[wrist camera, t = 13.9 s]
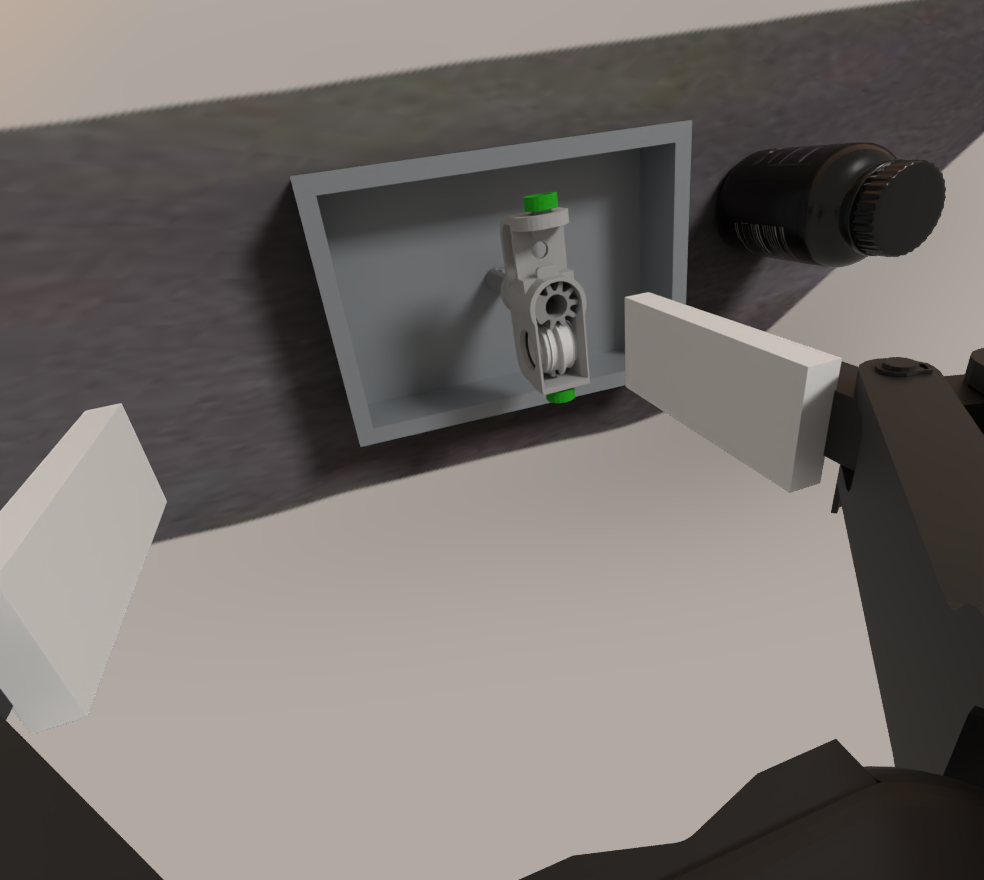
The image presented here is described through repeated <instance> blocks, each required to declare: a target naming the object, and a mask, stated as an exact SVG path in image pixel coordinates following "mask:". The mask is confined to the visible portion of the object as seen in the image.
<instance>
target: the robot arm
mask: <svg viewBox="0 0 984 880" xmlns="http://www.w3.org/2000/svg"><path fill="white" fill-rule="evenodd" d="M625 379H626V387H627V388H628V389H630V390H632V391H633V392H635V393H636V394H638V395H639V396H641V397H642V398H644V399H645V400H647V401H649V402H650V403H652V404H653V405H655V406H656V407H658V408H659V409H661V410H662V411H664V412H666V413H667V414H669V415H670V416H672V417H673V418H675V419H676V420H678V421H680V422H681V423H683V424H684V425H686V426H687V427H689V428H690V429H692V430H694V431H695V432H697V433H698V434H700V435H701V436H703V437H704V438H706V439H707V440H709V441H710V442H712V443H714V444H715V445H717V446H718V447H720V448H721V449H723V450H724V451H726V452H727V453H729V454H731V455H732V456H734V457H735V458H737V459H738V460H740V461H741V462H743V463H745V464H746V465H748V466H749V467H751V468H752V469H754V470H755V471H757V472H758V473H760V474H762V475H763V476H765V477H766V478H768V479H769V480H771V481H772V482H774V483H775V484H777V485H779V486H780V487H782V488H783V489H785V490H786V491H788V492H794V491H797V490H800V489H803V488H806V487H809V486H812V485H815V484H818V483H820V480H821V475H822V469H823V464H824V458H825V456H826V457H828V458H830V459H831V460H833V461H835V462H837V463H839V464H840V468H839V473H838V479H837V484H836V489H835V495H834V499H833V505H832V510H831V513H837V512H838V509H839V507H841V506H842V509H843V514H844V519H845V524H846V529H847V533H848V538H849V543H850V548H851V553H852V558H853V563H854V567H855V572H856V577H857V582H858V587H859V592H860V597H861V601H862V606H863V611H864V616H865V621H866V626H867V630H868V635H869V640H870V645H871V650H872V655H873V659H874V664H875V669H876V674H877V679H878V684H879V689H880V693H881V699H882V703H883V708H884V713H885V718H886V723H887V728H888V732H889V737H890V742H891V747H892V752H893V757H894V764H895V767H872V766H870V767H863V766H862V765H861V764H860V763H859V762H858V761H857V760H856V759H855V758H854V757H853V756H852V755H851V754H850V753H849V752H848V751H847V750H846V749H845V748H844V747H843V746H842V745H841V744H840V743H839V742H838V741H837V739H834V740H832V741H830V742H828V743H825V744H823V745H821V746H819V747H816V748H814V749H812V750H810V751H808V752H805V753H803V754H801V755H798V756H796V757H794V758H792V759H789V760H787V761H785V762H783V763H780V764H778V765H776V766H774V767H771V768H769V769H767V770H765V771H762V772H760V773H758V774H757V775H755V777H753V778H752V779H751V780H750V781H749V782H748V783H747V784H746V785H745V786H744V787H743V788H742V789H741V790H740V791H739V792H738V793H737V794H735V796H733V797H732V798H731V799H730V800H729V801H728V802H727V803H726V804H725V805H724V806H723V807H722V808H721V809H720V810H719V811H718V812H717V813H716V814H714V816H713V817H711V818H710V819H709V820H708V821H707V822H706V823H705V824H704V825H703V826H702V827H701V828H700V829H699V830H698V831H697V832H696V833H694V834H693V835H692V836H691V837H690V838H688V839H686V840H684V841H681V842H678V843H672V844H664V845H655V846H647V847H639V848H631V849H623V850H615V851H607V852H599V853H591V854H583V855H575V856H571V857H569V858H567V859H565V860H562V861H560V862H558V863H556V864H554V865H551V866H549V867H546V868H544V869H542V870H540V871H538V872H535V873H533V874H531V875H529V876H526V877H524V878H522V879H519V880H984V348H981V349H978V350H975V351H973V352H972V354H971V356H970V359H969V363H968V366H967V370H966V373H965V374H964V375H953V376H943V375H942V373H941V372H940V371H939V370H938V369H936V368H935V367H934V366H931V365H930V364H928V363H923V362H918V361H914V360H912V359H908V358H900V357H892V358H883V359H874V360H869V361H866V362H864V363H862V364H860V365H859V367H856V366H854V365H850V364H848V363H845V362H842V358H840V357H837V356H834V355H831V354H828V353H825V352H822V351H819V350H816V349H814V348H810V347H808V346H805V345H802V344H799V343H796V342H793V341H790V340H787V339H784V338H781V337H778V336H775V335H772V334H770V333H767V332H764V331H761V330H758V329H755V328H752V327H749V326H746V325H743V324H740V323H737V322H735V321H732V320H729V319H726V318H723V317H720V316H717V315H714V314H711V313H708V312H705V311H702V310H699V309H696V308H694V307H691V306H688V305H685V304H682V303H679V302H676V301H673V300H670V299H667V298H664V297H661V296H658V295H655V294H653V293H650V292H646V293H642V294H637V295H632V296H628V297H625ZM166 502H167V501H166V498H165V496H164V494H163V492H162V490H161V488H160V485H159V483H158V481H157V479H156V477H155V475H154V472H153V470H152V468H151V466H150V464H149V462H148V460H147V457H146V455H145V453H144V451H143V449H142V447H141V444H140V442H139V440H138V438H137V436H136V434H135V431H134V429H133V427H132V425H131V423H130V421H129V418H128V416H127V414H126V412H125V410H124V408H123V406H122V403H120V404H115V405H111V406H106V407H101V408H96V409H92V410H87V411H85V412H84V413H83V414H82V415H81V416H80V418H79V419H78V420H77V421H76V422H75V424H74V425H73V426H72V427H71V428H70V429H69V431H68V432H67V433H66V434H65V435H64V437H63V438H62V439H61V440H60V441H59V442H58V444H57V445H56V446H55V447H54V448H53V450H52V451H51V452H50V453H49V454H48V455H47V457H46V458H45V459H44V460H43V461H42V463H41V464H40V465H39V466H38V467H37V468H36V470H35V471H34V472H33V473H32V474H31V476H30V477H29V478H28V479H27V480H26V481H25V483H24V484H23V485H22V486H21V487H20V489H19V490H18V491H17V492H16V493H15V494H14V496H13V497H12V498H11V499H10V500H9V502H8V503H7V504H6V505H5V506H4V507H3V509H2V510H1V511H0V880H163V879H162V878H161V877H160V876H159V875H158V874H157V873H156V872H155V871H154V870H153V869H152V868H151V867H150V866H149V865H148V864H147V863H146V861H145V860H144V859H143V858H141V856H139V854H138V853H137V852H136V851H135V850H134V849H133V848H132V847H131V846H130V845H129V844H127V842H126V841H125V840H124V839H123V838H122V837H121V836H120V835H119V834H118V833H117V832H116V831H115V830H114V829H113V828H112V827H111V826H110V825H109V824H108V823H107V822H106V821H104V819H103V818H102V817H101V816H100V815H99V814H98V813H97V812H96V811H95V810H94V809H93V808H92V807H91V806H90V805H89V804H88V803H87V802H86V801H85V800H84V799H83V798H82V797H81V796H80V795H79V794H78V793H77V792H76V791H75V790H74V789H73V788H72V787H71V786H70V785H69V784H68V783H67V782H66V781H65V780H64V779H63V778H62V777H61V776H60V775H59V774H58V773H57V772H56V771H55V770H54V769H53V768H52V767H51V766H50V765H49V764H48V763H47V762H46V761H45V760H44V759H43V758H42V757H41V756H40V755H39V754H38V753H37V752H36V751H35V749H34V748H32V746H31V745H30V744H29V743H28V742H27V741H26V740H25V739H24V738H23V737H22V736H20V734H19V733H18V732H16V730H15V729H13V728H12V727H11V725H10V724H9V723H8V722H7V721H6V719H7V717H8V715H9V713H10V711H11V709H12V710H13V711H14V712H15V714H16V715H17V716H18V717H19V719H20V720H21V721H22V723H23V724H24V725H25V727H26V728H27V729H28V730H29V732H30V733H31V734H35V733H39V732H42V731H45V730H48V729H51V728H54V727H58V726H61V725H64V724H67V723H70V722H73V721H76V720H79V719H83V718H86V717H87V716H88V714H89V711H90V708H91V706H92V703H93V700H94V697H95V695H96V692H97V689H98V687H99V684H100V681H101V678H102V676H103V673H104V670H105V668H106V665H107V662H108V660H109V657H110V654H111V651H112V649H113V646H114V643H115V640H116V638H117V635H118V632H119V630H120V627H121V624H122V622H123V619H124V616H125V614H126V611H127V608H128V605H129V603H130V600H131V597H132V595H133V592H134V589H135V586H136V584H137V581H138V578H139V576H140V573H141V570H142V567H143V565H144V562H145V559H146V557H147V554H148V551H149V548H150V546H151V543H152V540H153V538H154V535H155V532H156V530H157V527H158V524H159V521H160V519H161V516H162V513H163V511H164V508H165V505H166Z"/></svg>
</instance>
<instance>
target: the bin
mask: <svg viewBox="0 0 984 880" xmlns="http://www.w3.org/2000/svg"><path fill="white" fill-rule="evenodd" d="M691 138H692V120H688V121H681V122H674V123H666V124H659V125H651V126H644V127H637V128H630V129H623V130H616V131H609V132H601V133H594V134H587V135H580V136H573V137H566V138H559V139H551V140H544V141H537V142H530V143H523V144H516V145H509V146H502V147H494V148H487V149H480V150H473V151H466V152H459V153H452V154H445V155H437V156H430V157H423V158H416V159H409V160H402V161H395V162H387V163H380V164H373V165H366V166H359V167H352V168H345V169H338V170H330V171H323V172H316V173H309V174H302V175H295V176H290V179H291V183H292V187H293V191H294V195H295V198H296V202H297V206H298V210H299V214H300V217H301V221H302V225H303V229H304V233H305V237H306V240H307V244H308V248H309V252H310V256H311V260H312V263H313V267H314V271H315V275H316V279H317V282H318V286H319V290H320V294H321V298H322V302H323V305H324V309H325V313H326V317H327V321H328V325H329V328H330V332H331V336H332V340H333V344H334V348H335V351H336V355H337V359H338V363H339V367H340V370H341V374H342V378H343V382H344V386H345V390H346V393H347V397H348V401H349V405H350V409H351V413H352V416H353V420H354V424H355V428H356V432H357V435H358V439H359V443H360V447H363V446H367V445H372V444H376V443H380V442H384V441H389V440H393V439H397V438H401V437H406V436H410V435H414V434H419V433H423V432H427V431H431V430H436V429H440V428H444V427H448V426H453V425H457V424H461V423H466V422H470V421H474V420H478V419H483V418H487V417H491V416H495V415H500V414H504V413H508V412H513V411H517V410H521V409H525V408H530V407H534V406H538V405H542V404H547V403H551V402H549V401H547V399H546V395H542V394H541V393H540V392H539V391H537V390H536V389H535V388H534V387H533V386H532V384H531V382H530V381H528V380H527V379H526V378H525V377H524V375H523V373H522V371H521V369H520V366H519V363H518V359H517V355H516V348H515V340H514V333H513V326H512V319H511V311H510V310H509V309H508V308H507V307H506V306H505V305H504V303H503V301H502V298H501V294H499V293H497V292H495V291H494V290H492V289H490V288H489V286H488V285H487V283H486V275H487V273H488V271H489V270H491V269H493V268H496V267H497V269H498V271H499V269H500V268H502V267H504V260H503V253H502V246H501V238H500V224H501V220H502V218H503V217H506V216H511V215H516V214H522V213H527V212H525V210H524V201H523V197H525V196H529V195H534V194H540V193H547V192H557V200H558V207H561V208H568V214H569V223H568V224H565V225H563V226H564V238H565V249H566V260H567V269H570V270H573V271H574V280H576V281H577V282H578V283H579V284H580V285H581V286H582V288H583V290H584V292H585V295H586V301H587V305H586V312H585V324H586V337H587V349H588V362H589V375H590V383H589V384H585V385H581V386H577V387H575V397H577V396H581V395H585V394H589V393H594V392H598V391H602V390H606V389H611V388H615V387H619V386H624V385H626V379H625V297H628V296H632V295H637V294H642V293H646V292H650V293H653V294H655V295H658V296H661V297H664V298H667V299H670V300H673V301H676V302H679V303H682V304H685V305H686V289H687V259H688V229H689V198H690V168H691ZM567 322H569V321H567ZM569 323H570V322H569ZM570 324H571V323H570ZM572 327H573V326H572ZM573 329H574V328H573ZM577 356H578V354H577ZM575 359H577V357H576V358H575Z"/></svg>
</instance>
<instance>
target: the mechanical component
mask: <svg viewBox="0 0 984 880" xmlns="http://www.w3.org/2000/svg"><path fill="white" fill-rule="evenodd" d="M523 201H524V210H525V212H527V213H522V214H516V215H511V216H506V217H503V218H502V220H501V224H500V238H501V246H502V253H503V260H504V267H502V268H500V269H499V271H498V269H497V267H496V268H493V269H491V270H489V271H488V273H487V275H486V283H487V285H488V286H489V288H490V289H492V290H494V291H495V292H497V293H499V294H501V298H502V301H503V303H504V305H505V306H506V307H507V308H508V309H509V310H510V311H511V319H512V326H513V333H514V340H515V348H516V355H517V359H518V363H519V366H520V369H521V371H522V373H523V375H524V377H525V378H526V379H527V380H528V381H530V382H531V384H532V386H533V387H534V388H535V389H536V390H537V391H539V392H540V393H541V394H542V395H546V399H547V401H549V402H551V403H564V402H568V401H571V400H573V399H574V398H575V387H577V386H581V385H585V384H589V383H590V375H589V362H588V349H587V337H586V324H585V312H586V305H587V301H586V295H585V292H584V290H583V288H582V286H581V285H580V284H579V283H578V282H577V281H576V280H574V271H573V270H570V269H567V260H566V249H565V238H564V226H563V225H565V224H568V223H569V214H568V208H561V207H558V200H557V192H547V193H540V194H534V195H529V196H525V197H523ZM567 321H569V322H570V323H571V324H570V323H569V322H567ZM572 326H573V327H572ZM573 328H574V329H573ZM577 354H578V356H577ZM576 357H577V359H575V358H576Z"/></svg>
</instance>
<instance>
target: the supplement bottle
mask: <svg viewBox="0 0 984 880" xmlns="http://www.w3.org/2000/svg"><path fill="white" fill-rule="evenodd" d="M945 191H946V188H945V180H944V179H943V174H942V173H941V172H940V170H939V168H938V167H936V166H935V165H934V163H929V162H928V161H925V160H922V161H921V160H902V159H897V158H896V157H895V156H894V155H893V154H892V153H891V152H890V151H889V150H887V149H886V148H884V147H882V146H880V145H878V144H874V143H844V144H831V145H817V146H803V147H790V148H777V149H768V150H762V151H758V152H756V153H753V154H751V155H749V156H748V157H746V158H745V159H743V160H742V161H741V162H740V163H739V164H738V165H737V166H736V167H735V168H734V169H733V170H732V171H731V173H730V174H729V176H728V177H727V179H726V181H725V182H724V185H723V187H722V189H721V192H720V195H719V199H718V205H717V221H718V226H719V229H720V232H721V234H722V236H723V238H724V240H725V241H726V242H727V243H728V244H729V245H730V246H731V247H732V248H734V249H735V250H737V251H739V252H742V253H746V254H752V255H757V256H763V257H769V258H775V259H781V260H787V261H793V262H799V263H806V264H812V265H818V266H824V267H844V266H848V265H851V264H854V263H856V262H859V261H861V260H863V259H864V258H866V257H868V256H886V257H898V256H900V255H906V254H907V253H908V252H912V251H913V250H914V249H915V248H917V247H919V246H920V245H921V243H922V242H924V241H925V240H926V239H927V237H928V236H929V235H930V234H931V233H932V231H933V229H934V227H935V226H936V225H937V222H938V219H939V218H940V216H941V212H942V209H943V208H944V201H945V198H946V197H945Z"/></svg>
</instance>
